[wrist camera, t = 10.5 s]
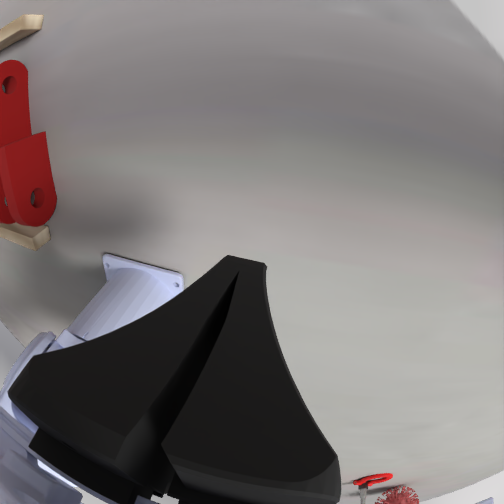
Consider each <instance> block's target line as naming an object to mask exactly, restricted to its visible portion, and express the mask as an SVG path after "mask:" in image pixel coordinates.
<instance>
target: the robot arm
mask: <svg viewBox="0 0 504 504" xmlns="http://www.w3.org/2000/svg"><path fill="white" fill-rule="evenodd" d="M103 264H104V269H105V274H106V279H107V283H106V284H105V285H104V286H103V287H102V288H101V289H100V290H99V292H98V293H97V294H96V295H95V296H94V297H93V298H92V300H91V301H90V302H89V303H88V304H87V305H86V307H85V308H84V309H83V310H82V311H81V313H80V314H79V315H78V316H77V317H76V319H75V320H74V321H73V322H72V324H71V325H70V326H69V327H68V328H67V329H64V330H63V332H62V333H61V334H60V335H59V337H58V338H57V339H56V340H54V339H55V338H56V335H55V334H54V333H53V332H51V331H49V332H48V333H47V332H41V333H39V334H38V335H37V336H36V337H35V338H34V339H33V340H32V341H31V342H30V344H29V345H28V346H27V347H26V348H25V350H24V351H23V352H22V354H21V355H20V356H19V358H18V359H17V361H16V362H15V364H14V365H13V367H12V368H11V370H10V372H9V373H8V375H7V377H6V378H5V381H4V386H3V388H2V390H1V391H0V504H83V503H81V499H82V497H83V496H82V494H81V493H80V492H79V491H77V490H76V489H74V488H73V487H79V488H81V489H83V490H84V491H86V492H88V493H90V494H91V495H93V496H95V497H97V498H99V499H101V500H103V501H104V502H106V503H108V504H159V503H156V502H154V501H151V500H150V499H151V497H152V494H153V495H155V496H158V497H161V498H162V497H163V495H164V494H166V493H167V495H168V496H170V497H173V498H176V499H179V503H178V504H336V503H338V502H339V501H340V495H341V475H340V467H339V461H338V456H337V454H336V453H335V451H334V450H333V448H332V447H331V446H330V444H329V443H328V441H327V440H326V438H325V437H324V435H323V433H322V432H321V430H320V429H319V427H318V426H317V424H316V422H315V421H314V419H313V417H312V415H311V414H310V412H309V410H308V408H307V407H306V405H305V403H304V401H303V399H302V397H301V395H300V393H299V391H298V389H297V386H296V384H295V382H294V380H293V378H292V376H291V374H290V371H289V369H288V367H287V364H286V362H285V359H284V356H283V354H282V351H281V348H280V345H279V342H278V339H277V336H276V332H275V329H274V325H273V321H272V317H271V313H270V307H269V302H268V296H267V288H266V269H267V266H266V265H265V263H262V262H257V261H253V260H248V259H244V258H239V257H235V256H230V255H227V256H226V257H224V258H223V259H222V260H221V261H220V262H218V263H217V264H216V265H215V266H214V267H213V268H211V269H210V270H209V271H208V272H207V273H205V274H204V275H203V276H202V277H201V278H199V279H198V280H197V281H195V282H194V283H193V284H192V285H190V286H189V287H188V288H186V289H185V290H184V286H183V277H182V275H181V274H179V273H177V272H173V271H169V270H165V269H161V268H158V267H154V266H150V265H146V264H143V263H139V262H135V261H132V260H128V259H124V258H121V257H117V256H114V255H110V254H105V255H104V256H103ZM176 283H178V284H179V285H178V284H176ZM476 504H493V498H492V497H491V498H488V499H486V500H483V501H481V502H479V503H476Z"/></svg>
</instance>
